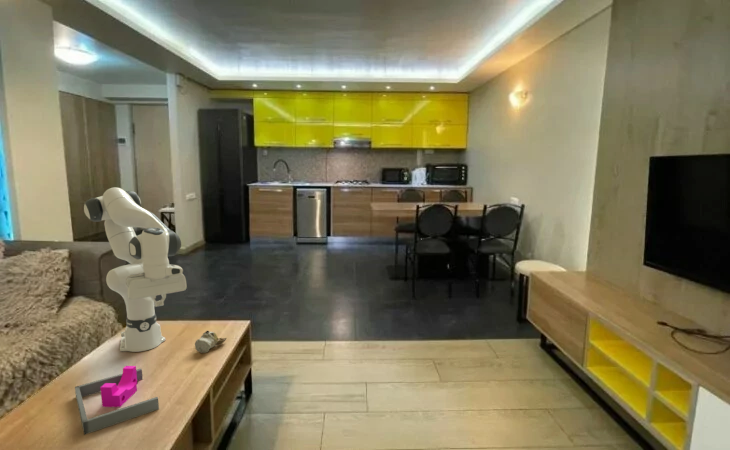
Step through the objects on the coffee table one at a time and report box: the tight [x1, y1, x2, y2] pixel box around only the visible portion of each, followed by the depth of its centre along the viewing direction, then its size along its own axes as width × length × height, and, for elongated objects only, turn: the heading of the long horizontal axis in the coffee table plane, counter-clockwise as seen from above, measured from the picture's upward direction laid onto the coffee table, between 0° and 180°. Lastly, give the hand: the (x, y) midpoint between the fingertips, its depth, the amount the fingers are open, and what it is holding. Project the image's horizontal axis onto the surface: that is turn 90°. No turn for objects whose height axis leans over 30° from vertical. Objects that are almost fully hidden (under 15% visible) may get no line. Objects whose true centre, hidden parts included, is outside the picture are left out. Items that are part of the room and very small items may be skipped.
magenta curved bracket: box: [100, 365, 138, 408], centre depth 148 cm, size 15×6×8 cm, turn 0°
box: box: [74, 368, 160, 435], centre depth 143 cm, size 26×21×4 cm
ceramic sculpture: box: [194, 330, 227, 354], centre depth 186 cm, size 11×9×15 cm
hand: (159, 305), depth 157 cm, fingers closed
